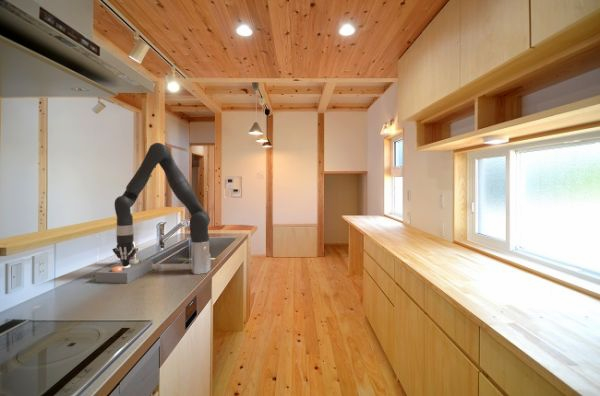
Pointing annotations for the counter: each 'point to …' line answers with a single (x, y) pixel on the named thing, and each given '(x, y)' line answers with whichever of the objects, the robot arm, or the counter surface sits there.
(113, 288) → the counter surface
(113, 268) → the terracotta button
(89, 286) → the counter surface
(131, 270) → the button console
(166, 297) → the counter surface
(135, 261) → the sage button
